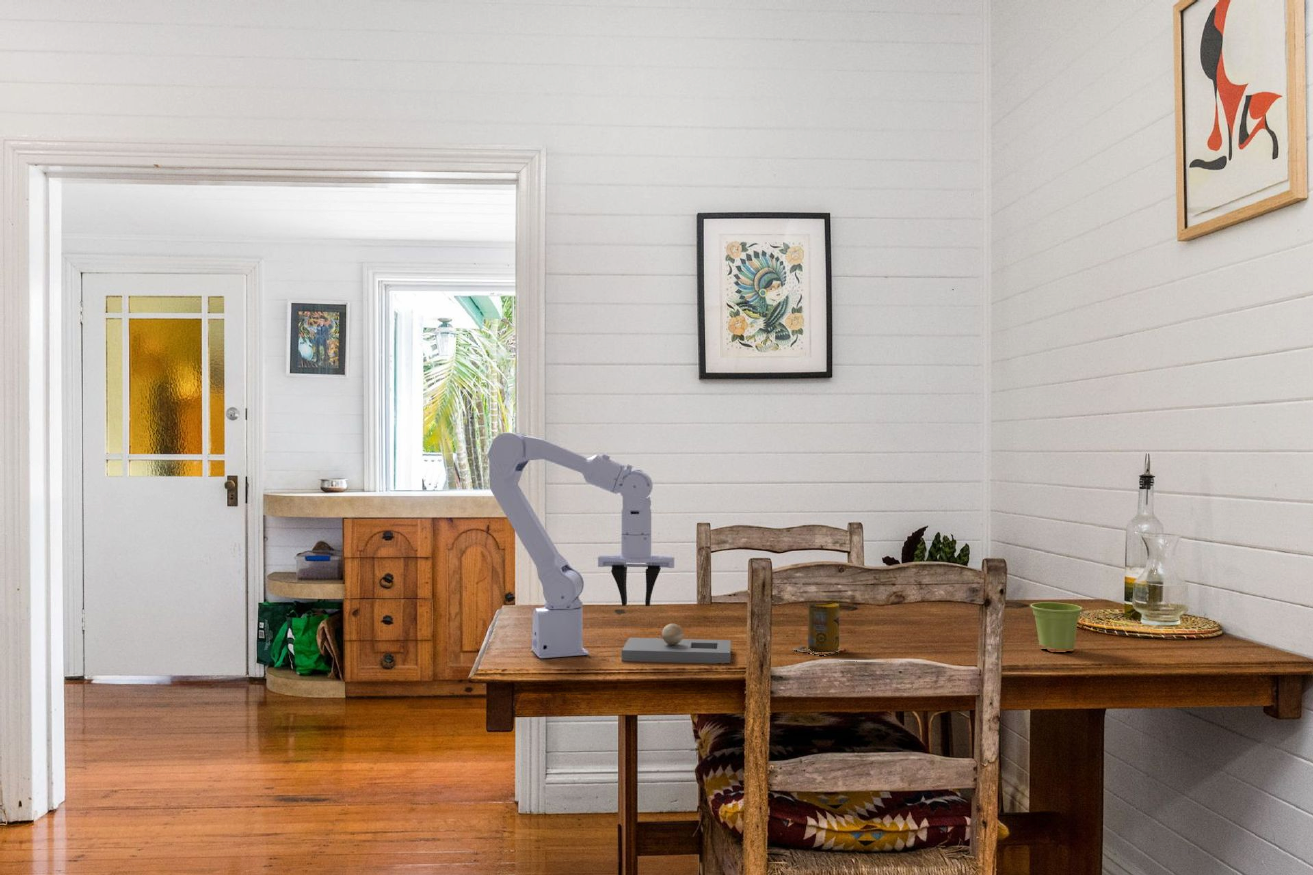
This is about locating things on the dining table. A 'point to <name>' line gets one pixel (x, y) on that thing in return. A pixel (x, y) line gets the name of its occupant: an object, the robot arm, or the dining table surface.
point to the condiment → (822, 628)
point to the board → (677, 651)
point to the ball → (672, 634)
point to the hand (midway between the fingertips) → (636, 605)
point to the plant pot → (1056, 624)
